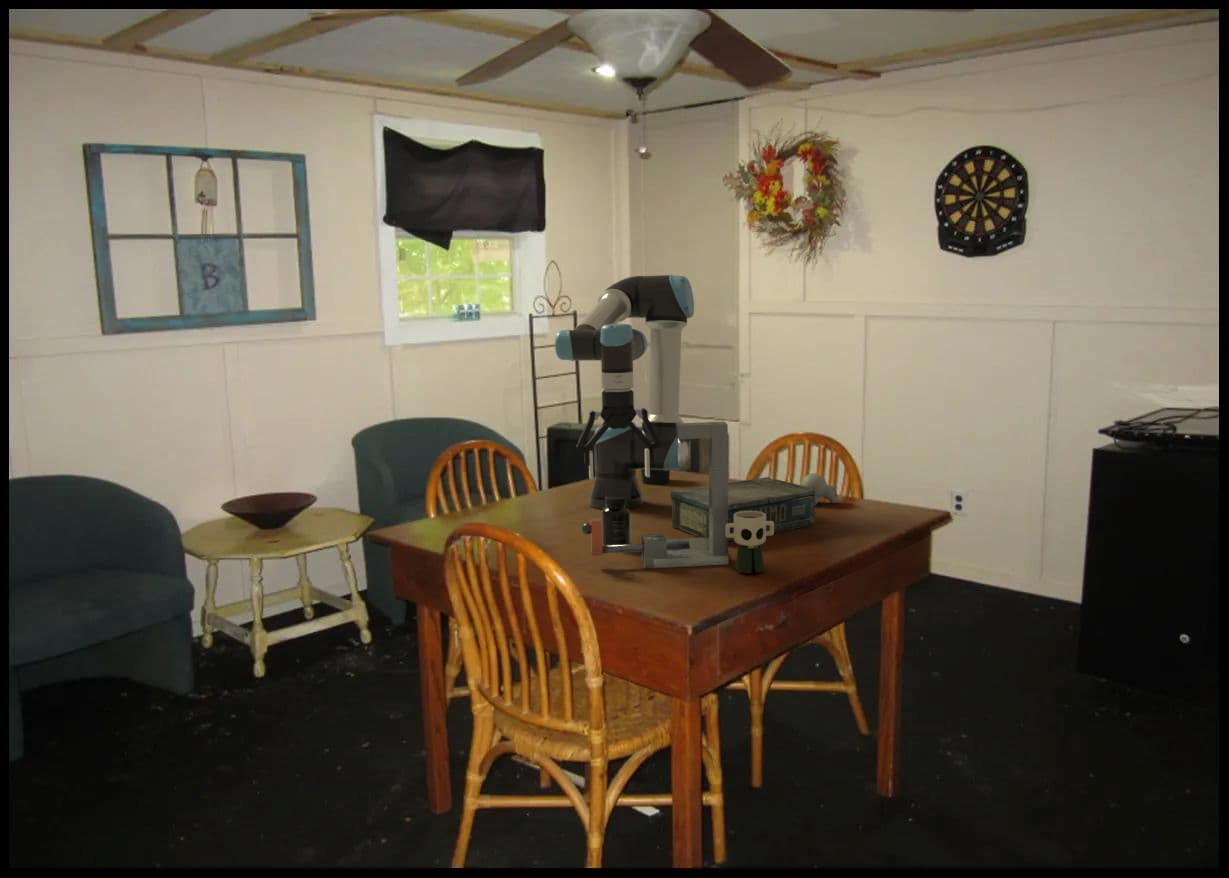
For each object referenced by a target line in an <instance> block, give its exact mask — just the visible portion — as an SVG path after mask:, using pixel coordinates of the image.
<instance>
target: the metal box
mask: <svg viewBox="0 0 1229 878" xmlns="http://www.w3.org/2000/svg"><path fill="white" fill-rule="evenodd" d="M669 494H670V502H671V507H672V508H671V510H672V512H671V527H672V528H675V529H678V530H681V531H682V532H685V533H688V534H690V535H692V536H694V537H696V538H703V537H709V485H706V486H701V487H700V486H699V487H693V488H685V489H683V488H682V489H677V490H672V491H670V493H669ZM739 511H759V512H763V513H765V514H766V521H773V522H774V533H778V532H779V531H780V532H784V531H785V530H786V531H791V530H796V529H795V528H797V529H800V527H802V528H806V527H810V525H812V526H814V525H815V524H816V519H815V518H816V506H815V490H814V489H813V488H809V487H806V486H801V484H796V483H794V482H788V481H786V480H781V479H778V478H777V479H773V478H771V477H769V476H767V477H766V476H765V477H760V478H759V477H758V478H753V479H746V480H738V481H732V482H728V523H734V513H736V512H739ZM805 526H806V527H805ZM790 529H791V530H790ZM767 531H770V525H766V532H767ZM780 532H779V533H780ZM732 533H734V527H730V534H732ZM733 541H735V540H734V538H728V542H733Z"/></svg>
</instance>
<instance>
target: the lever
mask: <svg viewBox="0 0 1229 878" xmlns="http://www.w3.org/2000/svg"><path fill="white" fill-rule="evenodd" d="M581 532H582V533H583V534H585V535H590V547H591V549H590V552H591V556H593V557H594V556H596V557H597V556H603V555H604V554H618V553H619V554H620V553H622V554H624V553H642V552H644V544H642V543H630V544H624V545H603V538H602V517H596V518H590V522H585V523H583V524H582V526H581ZM689 548H690V545H689V541H687V542H667V550H686V549H689Z"/></svg>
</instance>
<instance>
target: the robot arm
mask: <svg viewBox="0 0 1229 878" xmlns="http://www.w3.org/2000/svg"><path fill="white" fill-rule="evenodd" d="M694 301H695V300H694V294H693V289H692V285H691V283H690V281H689V279H688V278H687V277H686V276H685V275H676V274H675V275H673V274H668V275H667V274H665V275H664V274H663V275H634V276H629V277H626V278H624V279H621V280H619V281H617V282H615V283H613V284H612V285H610V286H609V287H607V288H606V289H605V290H604V291H603V292H602V293H601V294H600V295H599V296H598V299H597V304H596V305H594V307H593V308H592V309H591V310H590V311H589V312H588V313H587V314H586V315H585V317H584V318H583V319H581V321H580V322H579V323H578V324H577V325H576V326H575V327H574V329H562V330H560V331H558V332H557V334H556V336H555V341H554V347H555V348H554V349H555V353H556V356H557V358H558V359H560V361H561V360H562V361H571V362H574V361H575V362H576V361H581V362H582V361H583V362H584V361H600V363H601V365H600V366H601V388H602V389H603V390H602V391H601V401H602V402H601V406H602V407H601V411H597V410H593V409H591V410H588V411H589V412H588V419H587V422H586V424H585V426H584V428H583V430H582V432H581V435H580V437H579V438H578V441H577V443H576V446H575V447H576V449H577V451H582V452H583V459H584V465H585V466H588V477H589V480H591V481H592V480H593V481H594V482H593V484H592V488H591V492H590V495H589V505H590V506H591V507H592V508H595V509H599V510H603V509H604V508H605V507H606V505H605V497H607V496H612V495H621V496H624V497H625V505H624V506H625V507H627V508H628V509H629V510H630V509H635V508H639V507H640V506H642V505H643V503H644V502H643V496H644V495H643V493H642V490H641V488H640V485H639V482H638V478H637V470H641V469H645V476H646V477H650V470H664V471H667V470H670V471H679V470H680V469H678V438H677V437H676V423H685V422H684V420H683V419H682V418H681V417H680V416H679V415H680V414H679V413H680V390H681V389H680V388H681V386H680V385H681V384H680V380H681V355H682V331H683V329H685V327H687V325H688V319H691V318H693V316H694V312H695V302H694ZM632 318H634V319H637V318H643V319H645V325H646V326H647V328H648V329H649V330H650V337H649V338H650V341H649V342H650V343H649V344H650V345H649V346H650V347H649V372H648V374H649V375H648V400H647V401H648V404H647V405H648V406H647V407H648V408H647V409H648V410H647V409H646V408H644V407H643V408H641V409H635V401H634V396H635V395H634V390H632V389H633V388H634V361H635V360H638V359H640V358H641V357H642V356H643V355H644V354H645V353H646V351H647V348H648V341H647V340H648V339H647V337H646V336H645V334H644V333H643V332H642V331H641V330H638V329H634V328H633V327H632V325H630V324H628V323H621V322H623V321H625V320H627V319H632ZM636 416H638V418H639V419H642V424H641V425H642V427H637V426H636V422H634V419H635V417H636ZM599 417H600V418H602V420H603V422H602V424H601V425H600V426H598V427H596V429H595V431H594V434H593V436H592V437H590V439H589V440H588V442H587V443H586V441H587V438H588V437H589V434H590V433H591V431H592V428H593V426H594V424H595V421H597V420H598V419H599ZM585 443H586V444H585ZM592 449H593V450H594V453H593V450H592Z"/></svg>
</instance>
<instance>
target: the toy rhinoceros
mask: <svg viewBox="0 0 1229 878" xmlns="http://www.w3.org/2000/svg"><path fill="white" fill-rule="evenodd" d="M800 485H801V486H806V487H809V488H813V489H814V490H815V507H816V506H817V505H818V503H819V499H820V498H822V497H823V498H824V499H825V500H828V501H829V503H831V504H837V503H838V502H839V500H840V499H841V498H842V493H840V494H839V493H838V492H837V488H838V486H835V485H836V483H833V484H828V483H827V481H826V479H825V477H824V476H822V475H821V474H820V473H812V472H811V473H808V474H807V475H805V476H802V480H801V482H800Z"/></svg>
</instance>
